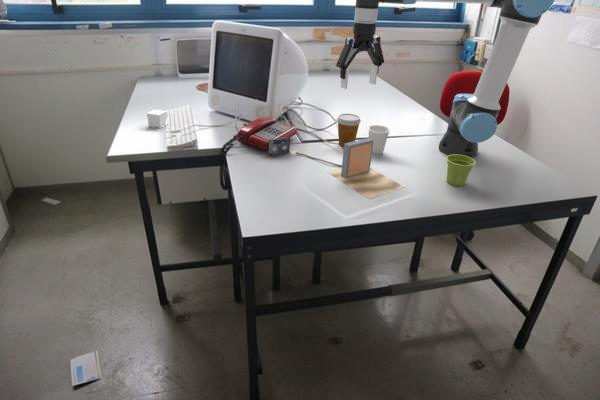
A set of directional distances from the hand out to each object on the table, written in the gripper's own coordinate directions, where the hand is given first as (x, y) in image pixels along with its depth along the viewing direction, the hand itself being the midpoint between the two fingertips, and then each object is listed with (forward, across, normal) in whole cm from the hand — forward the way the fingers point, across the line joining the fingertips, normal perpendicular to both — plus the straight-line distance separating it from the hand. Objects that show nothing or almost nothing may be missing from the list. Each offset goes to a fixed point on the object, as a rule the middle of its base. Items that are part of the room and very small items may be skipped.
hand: (358, 85), depth 147 cm
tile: (+26, +11, +15) cm, 32 cm away
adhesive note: (+27, +55, -67) cm, 91 cm away
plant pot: (+27, -16, +37) cm, 49 cm away
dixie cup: (+27, -10, +4) cm, 29 cm away
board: (+27, +11, +20) cm, 35 cm away
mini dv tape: (+27, +24, -15) cm, 39 cm away
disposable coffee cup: (+27, -4, -8) cm, 29 cm away
